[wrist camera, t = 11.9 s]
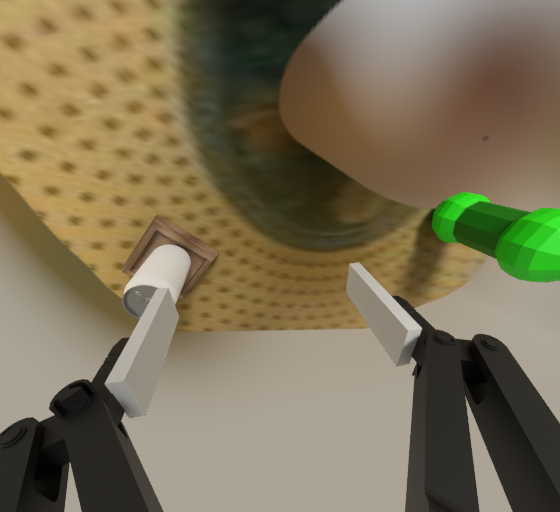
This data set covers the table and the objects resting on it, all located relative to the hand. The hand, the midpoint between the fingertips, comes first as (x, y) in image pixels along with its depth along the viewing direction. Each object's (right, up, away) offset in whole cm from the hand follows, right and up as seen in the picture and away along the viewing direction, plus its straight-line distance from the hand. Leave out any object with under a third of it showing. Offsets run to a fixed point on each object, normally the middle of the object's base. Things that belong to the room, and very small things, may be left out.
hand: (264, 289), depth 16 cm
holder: (-18, +2, +23) cm, 29 cm away
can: (-18, +2, +22) cm, 29 cm away
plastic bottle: (+35, +11, +29) cm, 47 cm away
